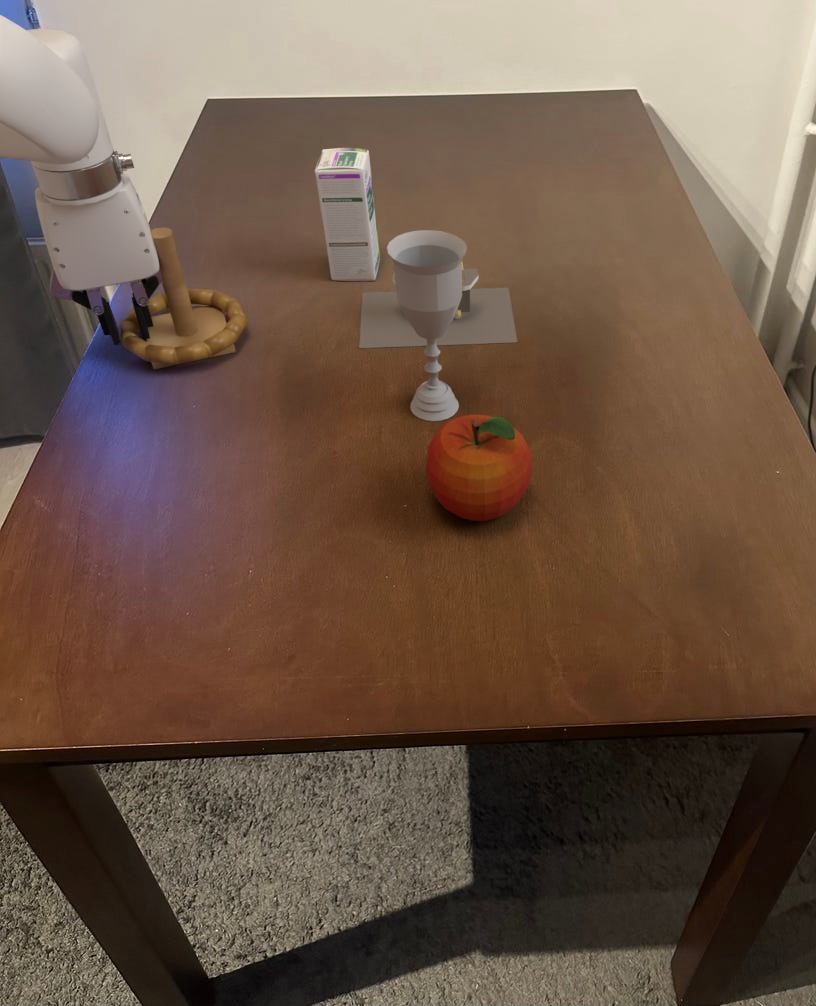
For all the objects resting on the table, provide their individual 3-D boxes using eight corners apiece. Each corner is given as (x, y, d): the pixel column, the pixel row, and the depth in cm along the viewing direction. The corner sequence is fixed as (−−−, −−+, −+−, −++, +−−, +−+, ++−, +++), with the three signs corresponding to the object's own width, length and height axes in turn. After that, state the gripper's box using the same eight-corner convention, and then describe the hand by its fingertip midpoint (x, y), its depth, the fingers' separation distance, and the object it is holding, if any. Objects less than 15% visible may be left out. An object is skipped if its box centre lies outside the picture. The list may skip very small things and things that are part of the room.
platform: (517, 342, 101) (519, 291, 97) (359, 348, 101) (353, 297, 96) (508, 287, 110) (509, 238, 105) (362, 292, 109) (357, 243, 105)
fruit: (461, 454, 87) (459, 371, 80) (547, 488, 84) (553, 404, 77) (407, 513, 82) (400, 429, 75) (497, 552, 78) (499, 468, 71)
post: (153, 369, 98) (119, 260, 88) (144, 327, 104) (111, 221, 94) (235, 352, 100) (210, 244, 91) (221, 311, 106) (197, 206, 97)
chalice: (478, 394, 94) (477, 237, 82) (456, 432, 90) (451, 273, 77) (414, 380, 96) (404, 225, 84) (389, 418, 92) (374, 259, 79)
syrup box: (376, 281, 111) (365, 167, 101) (329, 281, 111) (313, 167, 101) (380, 259, 115) (370, 147, 105) (335, 258, 115) (320, 147, 105)
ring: (129, 377, 95) (125, 363, 93) (118, 312, 104) (113, 299, 102) (257, 350, 98) (254, 336, 97) (234, 290, 107) (232, 277, 106)
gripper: (159, 146, 91) (199, 304, 104) (-12, 172, 86) (52, 333, 99) (169, 176, 86) (210, 338, 99) (-11, 204, 81) (56, 370, 94)
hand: (130, 334), depth 99 cm, fingers closed
